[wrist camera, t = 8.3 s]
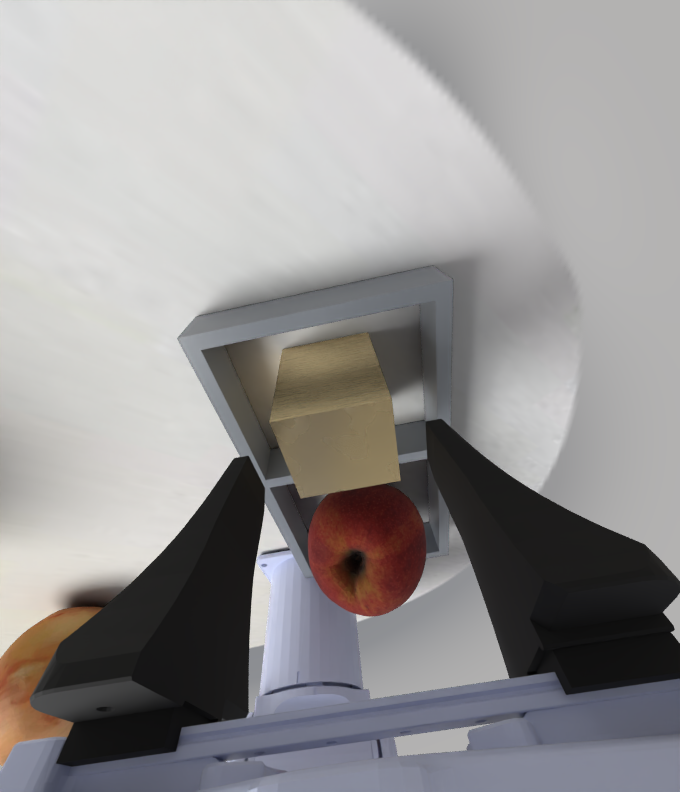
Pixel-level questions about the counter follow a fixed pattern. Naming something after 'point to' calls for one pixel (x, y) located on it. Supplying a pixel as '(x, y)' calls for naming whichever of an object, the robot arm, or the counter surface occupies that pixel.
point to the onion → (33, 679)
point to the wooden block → (334, 417)
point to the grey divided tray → (316, 309)
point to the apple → (367, 548)
